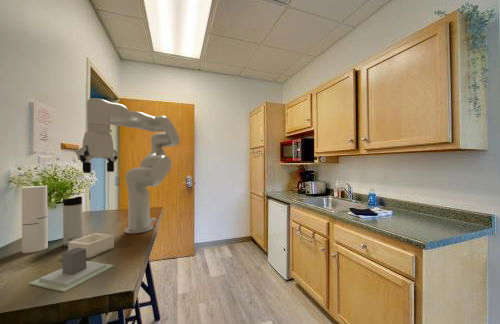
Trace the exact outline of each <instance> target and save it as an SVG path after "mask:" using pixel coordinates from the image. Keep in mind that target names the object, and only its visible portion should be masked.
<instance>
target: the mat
mask: <svg viewBox="0 0 500 324" xmlns="http://www.w3.org/2000/svg"><path fill="white" fill-rule="evenodd" d="M87 261H88V260H87ZM88 262H91V261H90V260H89V261H88ZM93 262H94V263H98V262H96V261H93ZM99 263H100V264H104V263H102V262H99ZM105 264H106V267H105V268H103V269H101V270H99V271H97V272H95V273H93V274H91V275H89V276H87V277H85V278H83V279H81V280H79V281H77V282H75V283H73V284H71V285H69V286H67V287H66V286H62V285H57V284H53V283H49V282H44V281H40V278H38V279H36V280H33V281H30V282H29V285H30V286H34V287H39V288H43V289H49V290H54V291H58V292H62V293H66V292H68V291H70V290H72V289H74V288H76V287H78V286H79V285H82V284H83V283H85V282H87V281H89V280H91V279H93V278H95V277H97V276H98V275H100V274H102V273H104V272H105V271H107V270H110V269H111V268H113V267H115V265H114V264H110V263H109V264H108V263H105Z"/></svg>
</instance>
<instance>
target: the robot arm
mask: <svg viewBox="0 0 500 324" xmlns="http://www.w3.org/2000/svg"><path fill="white" fill-rule="evenodd" d="M111 125H112V126H118V127H125V128H130V129H131V128H133V129H139V130H144V131H148V132H154V134H153V135H151V138H150V144H151V150H150V151H149V153H148V154H147V155H146V156H144V158H143V159H142V160H141V162H140V164H139V165H140V167H133V168H130V169H129V170H127V172H126V174H125V182H126V183H125V184H126V187H127V196H128V198H127V199H128V200H127V202H128V203H127V204H128V206H127V208H128V209H127V210H128V214H127V215H128V227H126V228H125V229H124V232H125V233H126V234H140V233H146V232H148V231H151V230H152V229H154V225H153V224H152V223H154V222H156V221H157V218H156V217H152V218H151V215H150V212H151V211H150V210H151V209H150V208H151V207H150V192H149V190H148V188H147V187H157V186H159V185H161V183H162V182H163V181H164V179H166V177H167V175H168V174H169V173H170V171H171V169H172V160H171V157H169V156H168V155H167V154H166V151H165V150H164V149H163V148H166V147H177V146H178V145H179V143H180V142H181V141H180V140H181V139H180V135H179V133H178V131H177V129H176V128H175V125H174V124H173V122H172V120H171V119H170V118H169V117H168V116H165V115H159V116H157V115H156V116H153V115H150V114H147V113H144V112H142V111H137V110H136V111H135V110H129V108H128V107H127V106H125V104H121V103H117V102H116V103H115V102H110V101H107V100H105V99H103V98H97V97H94V98H93V97H92V98H89V99H88V100H87V101H86V132H84V136H83V139H82V145H81V146H82V147H80V148H78V149H75V150H74V153H75V155H76V156H77V159H79V161H80V162H81V163H82V173H84V174H91V173H92V163H91V160H92V159H105V160H106V161H107V162H106V172H107V173H113V172H115V163H116V161H117V159H118V158H119V155H120V152H119V151H117V150H116V149H115V148H114V141H113V136H112V134H111V133H112V131H113V130H112V129H111Z"/></svg>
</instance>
